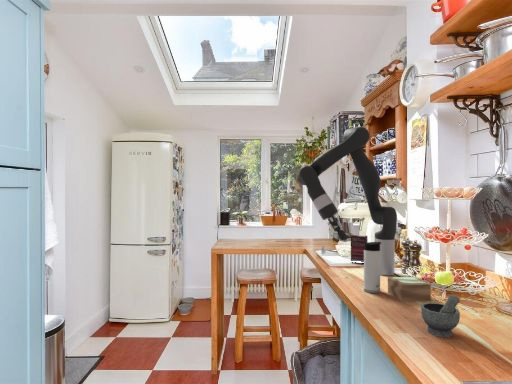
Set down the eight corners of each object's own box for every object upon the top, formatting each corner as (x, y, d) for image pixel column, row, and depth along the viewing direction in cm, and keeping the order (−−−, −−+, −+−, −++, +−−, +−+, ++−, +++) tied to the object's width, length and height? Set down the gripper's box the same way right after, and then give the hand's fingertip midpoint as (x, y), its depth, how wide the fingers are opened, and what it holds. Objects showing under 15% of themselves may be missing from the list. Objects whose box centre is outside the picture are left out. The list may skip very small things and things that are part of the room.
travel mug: (382, 294, 130) (382, 243, 130) (364, 292, 131) (364, 242, 131) (379, 289, 136) (379, 240, 136) (362, 288, 137) (363, 240, 137)
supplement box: (367, 263, 188) (368, 235, 188) (365, 264, 184) (365, 236, 184) (352, 261, 193) (352, 234, 193) (350, 263, 189) (350, 235, 189)
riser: (387, 292, 132) (387, 276, 132) (414, 291, 133) (414, 276, 133) (402, 301, 121) (402, 284, 121) (430, 300, 122) (430, 283, 122)
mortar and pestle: (413, 327, 97) (413, 286, 97) (440, 324, 99) (440, 284, 99) (442, 343, 86) (442, 297, 86) (472, 340, 88) (472, 295, 88)
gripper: (330, 200, 136) (352, 235, 131) (334, 203, 149) (354, 235, 145) (314, 209, 138) (335, 244, 133) (320, 212, 151) (339, 243, 146)
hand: (345, 239), depth 139 cm, fingers open, 8 cm apart
